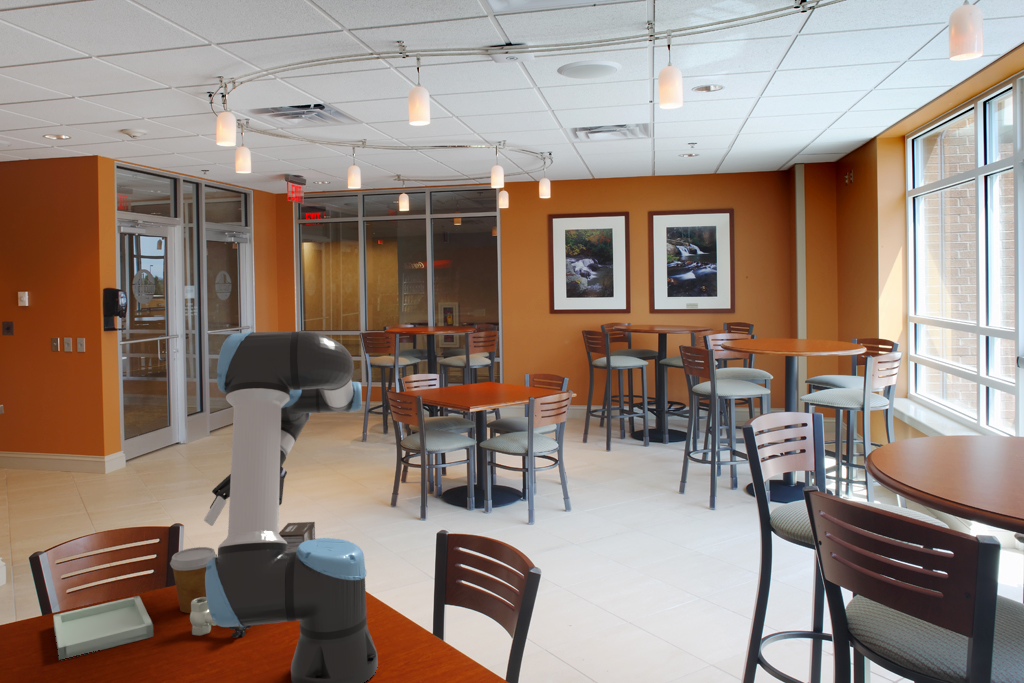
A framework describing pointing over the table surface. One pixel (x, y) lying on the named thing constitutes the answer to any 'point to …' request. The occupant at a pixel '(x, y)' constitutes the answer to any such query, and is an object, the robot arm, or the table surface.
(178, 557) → the disposable coffee cup
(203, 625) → the valve
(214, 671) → the table surface
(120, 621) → the tray
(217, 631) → the table surface
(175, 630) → the table surface
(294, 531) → the coffee box
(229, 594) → the robot arm
